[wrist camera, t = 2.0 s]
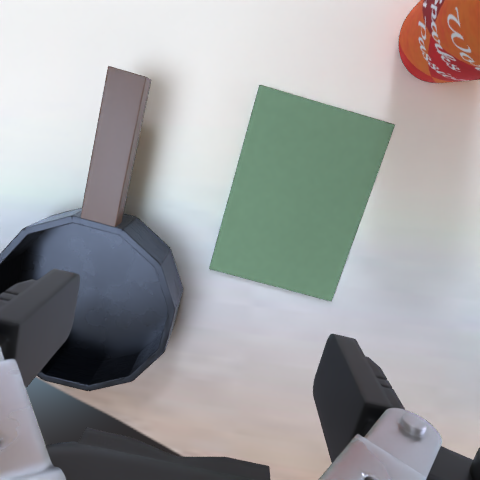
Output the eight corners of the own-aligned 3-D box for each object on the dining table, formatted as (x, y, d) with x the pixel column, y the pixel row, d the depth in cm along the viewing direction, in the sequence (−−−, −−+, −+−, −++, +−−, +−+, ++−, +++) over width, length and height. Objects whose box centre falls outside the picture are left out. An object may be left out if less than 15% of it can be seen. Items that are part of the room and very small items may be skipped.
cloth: (259, 85, 29) (259, 84, 29) (393, 124, 30) (395, 124, 30) (209, 267, 33) (209, 269, 32) (330, 300, 33) (331, 301, 33)
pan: (51, 52, 29) (21, 40, 25) (231, 104, 30) (229, 101, 26) (8, 338, 34) (-22, 364, 31) (160, 376, 35) (150, 406, 31)
